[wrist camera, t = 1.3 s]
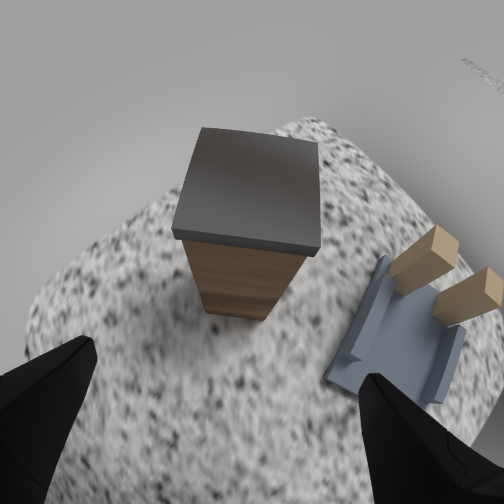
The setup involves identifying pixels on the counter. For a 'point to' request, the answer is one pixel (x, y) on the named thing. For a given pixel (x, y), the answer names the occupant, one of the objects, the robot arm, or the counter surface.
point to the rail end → (248, 218)
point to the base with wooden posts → (414, 321)
